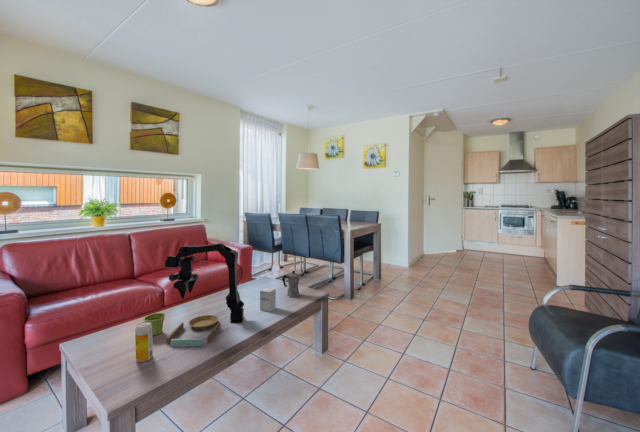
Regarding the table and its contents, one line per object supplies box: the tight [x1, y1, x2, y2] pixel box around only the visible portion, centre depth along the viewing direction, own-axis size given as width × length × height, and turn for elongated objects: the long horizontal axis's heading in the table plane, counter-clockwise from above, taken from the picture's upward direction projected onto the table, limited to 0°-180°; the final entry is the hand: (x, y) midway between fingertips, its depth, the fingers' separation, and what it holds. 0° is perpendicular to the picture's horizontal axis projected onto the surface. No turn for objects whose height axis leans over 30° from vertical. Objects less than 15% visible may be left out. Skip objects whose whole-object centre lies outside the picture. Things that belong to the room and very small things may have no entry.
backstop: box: [170, 338, 203, 347], centre depth 127 cm, size 14×1×3 cm, turn 93°
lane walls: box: [165, 321, 221, 345], centre depth 137 cm, size 20×16×3 cm
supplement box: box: [259, 287, 277, 312], centre depth 171 cm, size 7×7×13 cm
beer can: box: [134, 321, 154, 363], centre depth 116 cm, size 6×6×15 cm
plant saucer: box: [188, 314, 219, 330], centre depth 149 cm, size 15×15×3 cm
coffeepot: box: [281, 270, 303, 298], centre depth 196 cm, size 15×9×18 cm, turn 122°
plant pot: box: [143, 312, 166, 337], centre depth 138 cm, size 9×9×9 cm
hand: (186, 295), depth 152 cm, fingers open, 9 cm apart
